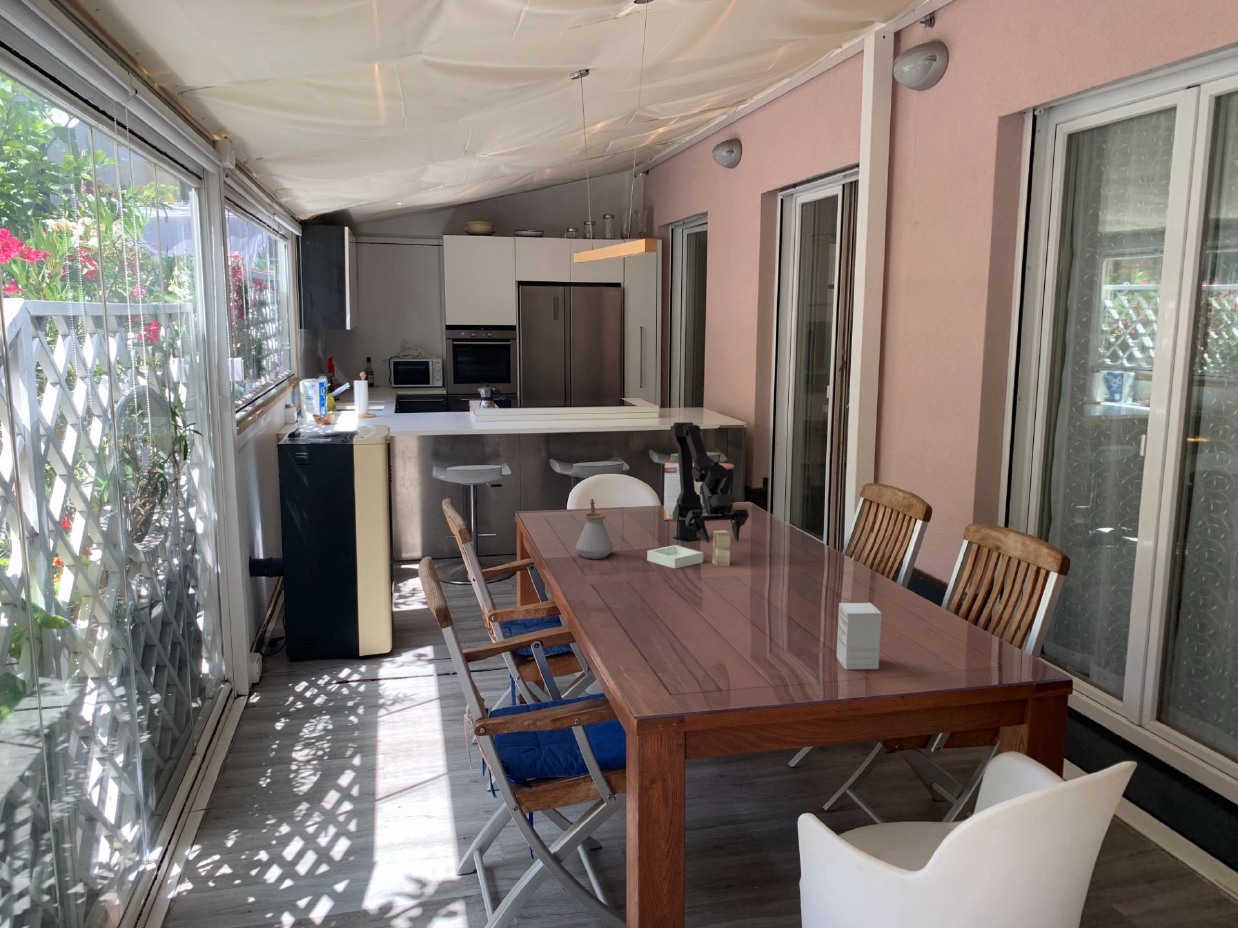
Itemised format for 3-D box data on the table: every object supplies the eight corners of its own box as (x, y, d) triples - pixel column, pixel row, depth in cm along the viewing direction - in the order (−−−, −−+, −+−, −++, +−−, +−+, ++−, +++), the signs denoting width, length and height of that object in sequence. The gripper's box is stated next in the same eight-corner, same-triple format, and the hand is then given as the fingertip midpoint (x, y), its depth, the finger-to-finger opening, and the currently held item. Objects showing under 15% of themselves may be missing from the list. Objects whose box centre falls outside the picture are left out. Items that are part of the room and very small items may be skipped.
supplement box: (868, 657, 206) (872, 602, 205) (879, 670, 199) (882, 612, 197) (835, 657, 206) (838, 601, 204) (844, 670, 199) (847, 612, 197)
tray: (647, 560, 286) (647, 550, 286) (675, 554, 294) (675, 544, 293) (674, 568, 277) (674, 558, 277) (703, 562, 285) (703, 552, 284)
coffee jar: (733, 514, 355) (735, 467, 352) (705, 513, 355) (706, 466, 353) (731, 508, 366) (732, 463, 363) (703, 508, 366) (704, 462, 363)
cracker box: (702, 518, 346) (703, 462, 343) (702, 522, 341) (703, 465, 337) (664, 517, 348) (665, 461, 345) (663, 520, 342) (664, 464, 339)
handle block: (712, 563, 284) (713, 530, 283) (724, 562, 285) (726, 530, 284) (716, 566, 280) (717, 533, 279) (729, 565, 281) (730, 533, 280)
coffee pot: (614, 560, 285) (614, 512, 283) (576, 560, 284) (576, 512, 282) (609, 543, 306) (609, 498, 304) (574, 543, 305) (574, 498, 303)
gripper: (689, 484, 281) (699, 528, 272) (747, 482, 285) (760, 525, 276) (680, 504, 290) (690, 548, 281) (737, 503, 294) (749, 545, 285)
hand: (723, 541), depth 280 cm, fingers open, 9 cm apart
